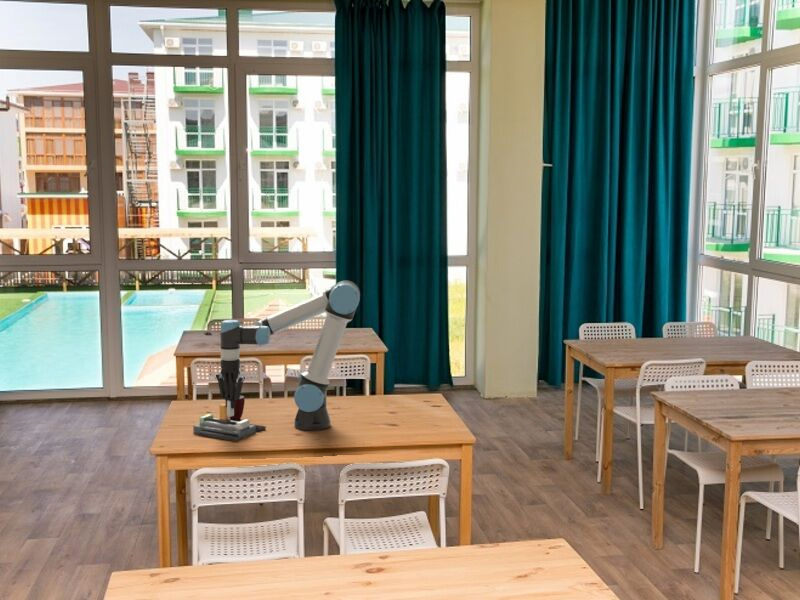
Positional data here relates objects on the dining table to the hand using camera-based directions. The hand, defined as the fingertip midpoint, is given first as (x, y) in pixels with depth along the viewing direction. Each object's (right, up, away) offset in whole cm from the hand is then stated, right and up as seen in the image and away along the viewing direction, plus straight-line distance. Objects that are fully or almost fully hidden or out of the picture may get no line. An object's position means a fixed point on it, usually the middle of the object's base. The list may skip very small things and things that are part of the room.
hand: (230, 415), depth 355 cm
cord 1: (-4, -8, -5) cm, 11 cm away
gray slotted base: (-3, -7, +2) cm, 8 cm away
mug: (-3, -5, +22) cm, 23 cm away
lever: (-3, -4, +2) cm, 5 cm away
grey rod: (+1, -6, +10) cm, 12 cm away
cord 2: (+2, -6, +12) cm, 14 cm away
